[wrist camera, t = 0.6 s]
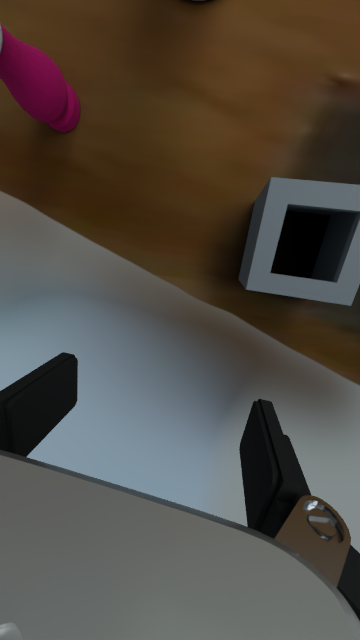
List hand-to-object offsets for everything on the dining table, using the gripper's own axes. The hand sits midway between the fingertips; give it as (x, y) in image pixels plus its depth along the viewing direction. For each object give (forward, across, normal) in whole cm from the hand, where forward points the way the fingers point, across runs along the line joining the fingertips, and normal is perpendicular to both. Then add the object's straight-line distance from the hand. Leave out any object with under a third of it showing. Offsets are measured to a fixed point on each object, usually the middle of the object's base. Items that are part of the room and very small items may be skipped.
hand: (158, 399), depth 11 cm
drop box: (+29, -11, -10) cm, 33 cm away
